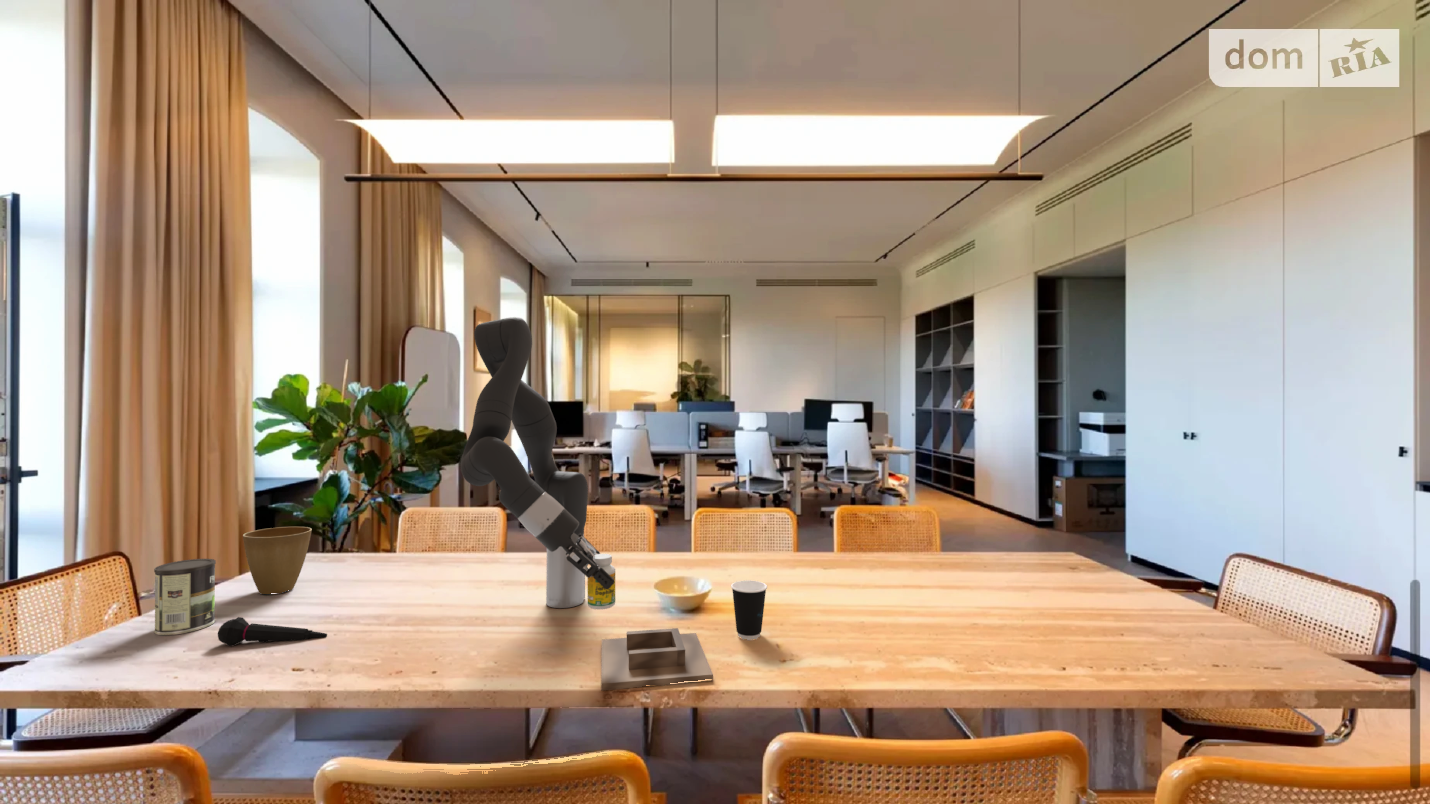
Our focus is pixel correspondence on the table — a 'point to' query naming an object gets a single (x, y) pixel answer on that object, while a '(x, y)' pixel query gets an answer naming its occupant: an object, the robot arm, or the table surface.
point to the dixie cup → (749, 607)
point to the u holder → (652, 659)
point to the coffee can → (184, 596)
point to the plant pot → (276, 557)
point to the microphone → (261, 632)
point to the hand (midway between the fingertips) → (611, 580)
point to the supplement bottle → (596, 591)
